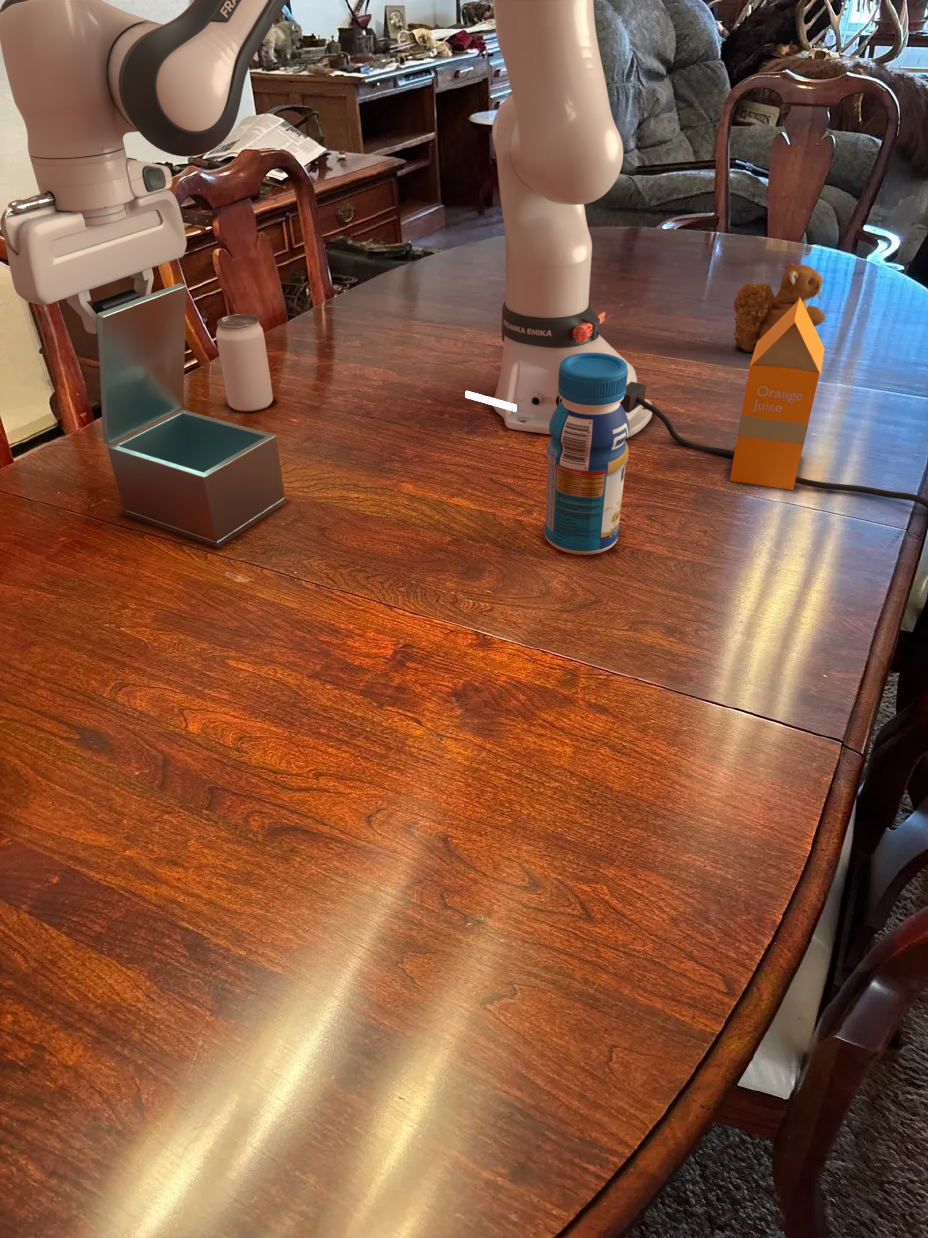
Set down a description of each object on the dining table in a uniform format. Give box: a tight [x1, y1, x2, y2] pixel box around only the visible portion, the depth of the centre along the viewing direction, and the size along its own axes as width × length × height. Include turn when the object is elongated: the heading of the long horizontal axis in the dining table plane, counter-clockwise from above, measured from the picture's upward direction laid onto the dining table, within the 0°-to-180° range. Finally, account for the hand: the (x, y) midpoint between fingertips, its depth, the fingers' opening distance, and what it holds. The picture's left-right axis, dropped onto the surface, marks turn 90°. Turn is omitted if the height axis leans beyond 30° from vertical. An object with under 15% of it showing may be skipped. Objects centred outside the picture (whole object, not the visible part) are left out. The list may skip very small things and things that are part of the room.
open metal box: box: [106, 409, 287, 549], centre depth 106 cm, size 15×12×9 cm
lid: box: [91, 282, 187, 445], centre depth 101 cm, size 16×12×5 cm
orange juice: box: [729, 298, 826, 491], centre depth 109 cm, size 8×9×20 cm
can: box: [215, 313, 274, 413], centre depth 129 cm, size 6×6×12 cm
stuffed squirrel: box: [733, 262, 826, 353], centre depth 143 cm, size 10×14×13 cm
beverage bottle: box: [544, 353, 629, 556], centre depth 96 cm, size 8×8×20 cm
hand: (120, 321), depth 99 cm, fingers closed on lid, 5 cm apart
